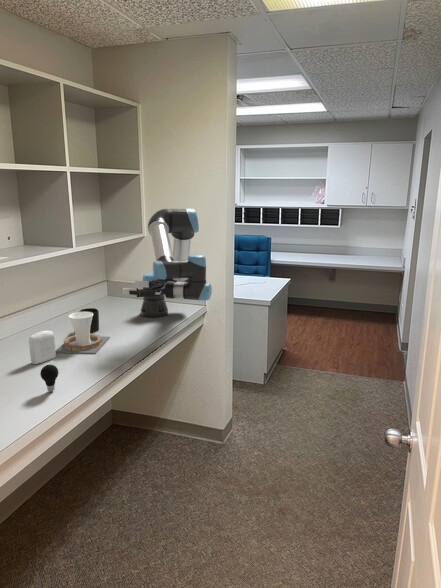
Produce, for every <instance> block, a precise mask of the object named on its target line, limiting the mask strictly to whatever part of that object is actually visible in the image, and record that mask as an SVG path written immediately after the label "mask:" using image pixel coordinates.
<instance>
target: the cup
mask: <svg viewBox="0 0 441 588" xmlns="http://www.w3.org/2000/svg"><path fill="white" fill-rule="evenodd" d="M68 318H69V321H70V323H71V325H72V328H73V331H74V335H75V336H76V345H84V344H90V343H91V340H90V334H91V333H90V326H91V322H92V318H93V313H91V312H79V311H78V312H73V313H70V314H69V315H68Z"/></svg>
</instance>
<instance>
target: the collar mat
mask: <svg viewBox="0 0 441 588" xmlns="http://www.w3.org/2000/svg"><path fill="white" fill-rule="evenodd" d="M100 336H101V338H102V343H101V345H100V346H98V347H95V348H93V349H88V350H81V351H78V350H69V349H66V348H65V346H64V343H62V344H61V345H60V346H59V347H58V348H56V349H55V351H56V354H76V355H77V354H79V355H82V354H83V355H84V354H85V355H86V354H87V355H96V354H98V353H99V351H100V350H101V348H103V347H104V345H105V344H106V343H107V342H108V341H109V340H110V338H111V337H110V336H102V335H100ZM90 340H91V343H93V342H96V341H97V340H94V339H90ZM70 344H73V345H76V340H75V341H72V342H70Z"/></svg>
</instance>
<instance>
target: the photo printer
mask: <svg viewBox="0 0 441 588" xmlns="http://www.w3.org/2000/svg"><path fill="white" fill-rule="evenodd" d="M28 345H29V353H30V356H29V357H30V362H31V364H33V365H38V364H41V363H44V362H47V361H50V360H54V359H55V358H56V357H57V353H56V342H55V333H54V332H53V331H51V330H42V331H38V332H35V333H34V334H32V335H31V336H29V337H28Z"/></svg>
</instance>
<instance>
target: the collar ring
mask: <svg viewBox="0 0 441 588" xmlns="http://www.w3.org/2000/svg"><path fill="white" fill-rule="evenodd" d="M101 336H102V335H100V334H96V333H90V339H94V340H97V341H96V342H93V343H90V344H84V345H73V344H70V342H72V341H75V340H76V336H75V334H74V335H71V336H68V337H66V338H65V339H64V340H63V344H64V346H65V348H66V349H69V350H78V351H81V350H88V349H93V348H95V347H98V346H100V345H101V343H102V338H101Z"/></svg>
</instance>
